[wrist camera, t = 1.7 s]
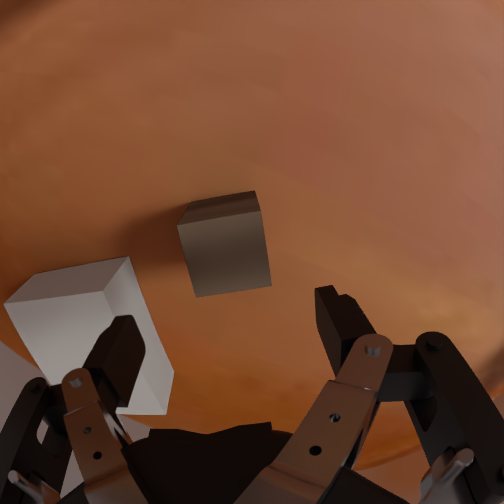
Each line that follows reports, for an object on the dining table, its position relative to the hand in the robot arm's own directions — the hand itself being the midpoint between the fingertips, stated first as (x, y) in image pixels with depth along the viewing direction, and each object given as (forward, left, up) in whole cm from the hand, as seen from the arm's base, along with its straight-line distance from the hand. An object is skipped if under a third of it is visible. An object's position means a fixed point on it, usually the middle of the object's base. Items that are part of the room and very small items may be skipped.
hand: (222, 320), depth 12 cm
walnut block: (0, 0, -12) cm, 12 cm away
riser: (+8, -15, -12) cm, 21 cm away
